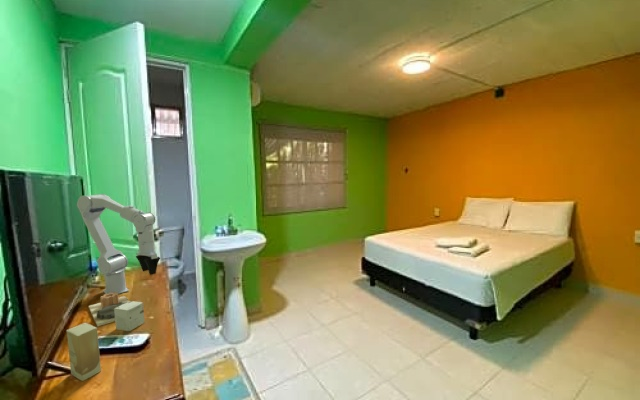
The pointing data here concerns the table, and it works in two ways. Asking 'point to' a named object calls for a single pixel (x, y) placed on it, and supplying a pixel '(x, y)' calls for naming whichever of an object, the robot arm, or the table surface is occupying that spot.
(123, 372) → the table surface
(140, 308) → the skincare box
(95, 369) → the skincare box
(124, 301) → the gear board
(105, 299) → the loose gear
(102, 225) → the robot arm
